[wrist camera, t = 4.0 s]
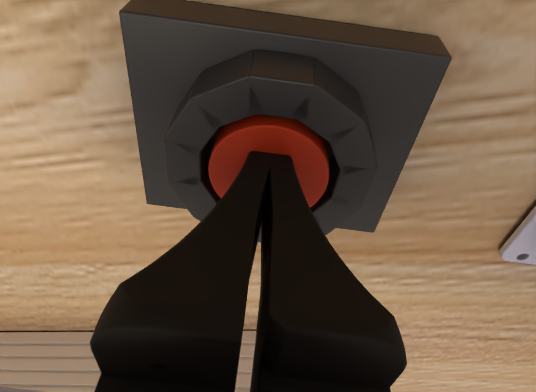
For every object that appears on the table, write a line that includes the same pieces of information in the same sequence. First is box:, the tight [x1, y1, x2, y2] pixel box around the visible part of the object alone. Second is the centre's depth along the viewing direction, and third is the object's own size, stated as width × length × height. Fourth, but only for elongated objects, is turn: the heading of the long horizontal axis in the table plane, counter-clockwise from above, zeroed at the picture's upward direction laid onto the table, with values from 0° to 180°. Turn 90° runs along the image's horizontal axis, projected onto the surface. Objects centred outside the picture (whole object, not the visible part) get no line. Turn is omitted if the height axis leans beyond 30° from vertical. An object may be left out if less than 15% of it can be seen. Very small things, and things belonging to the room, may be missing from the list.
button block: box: [119, 0, 452, 242], centre depth 14 cm, size 10×8×4 cm
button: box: [208, 114, 329, 207], centre depth 14 cm, size 4×4×2 cm
